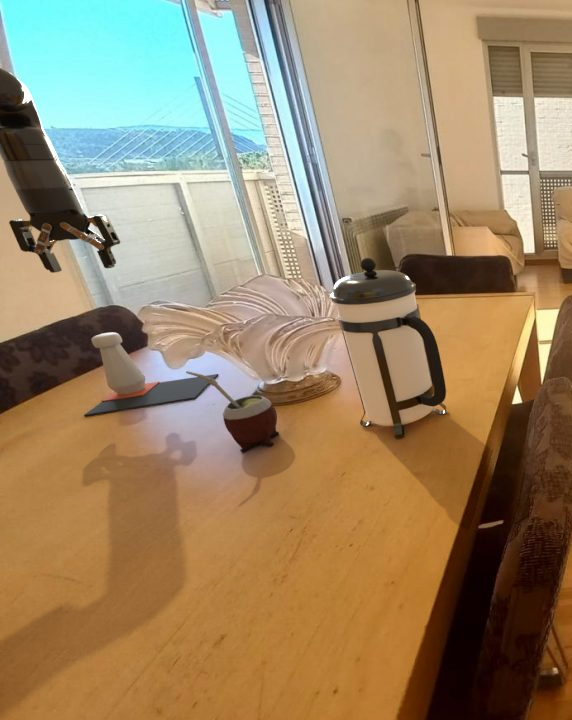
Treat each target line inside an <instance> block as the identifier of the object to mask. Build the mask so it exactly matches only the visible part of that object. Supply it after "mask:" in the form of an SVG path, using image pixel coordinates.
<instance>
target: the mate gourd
mask: <svg viewBox="0 0 572 720" xmlns="http://www.w3.org/2000/svg"><path fill="white" fill-rule="evenodd" d="M185 373H186V374H188V375H191V376H194V377H200V378H203V379H205V380H207V381H209V383H210V385H211V386H212V387H214V388H216V390H217V391H218V392H219V393H220V394H221V395H223V396H224V397H225V399H226V400H228V401H229V403H227V405H226V406H225V408H224V410H223V412H222V417H223V423H224V426H225V428H226V430H227V431H228V433H229V434H230V435H231V437H232V439H233V440H234V442H236V444H237V445H238V446H239V447H240V449H239V451H240V452H241V453H242V454H243V453H246V452H248V451H250V450H253V449H254V448H256V447H258V446H263V447H267V448H272V447H274V446H275V443H274V442H273V441H272V440H271V439H273V438H275V437H278V436H279V435H280V431H278V430H277V422H278V414H277V410H276V409H275V407H274V405H273V404H272V402H271V401H270V400H269V399H268V398H267V397H265V396H262V395H258V394H257V395H256V394H255V395H249V396H248V395H247V396H243V397H240V398H237V399H234V398H233V397H231V396H230V395H229V393H227V392H226V391H225V390H224V389H223V388H222V387H221V386H220V385H219V384H218V382H217V381H216V379H215V380H214V379H211V378H209V377H207V375H204V374H201V373H197V372H193V371H189V370H186V371H185Z"/></svg>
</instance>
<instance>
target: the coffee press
mask: <svg viewBox="0 0 572 720" xmlns="http://www.w3.org/2000/svg"><path fill="white" fill-rule="evenodd" d="M359 266H360V268H361V269H362V270H363V271H361V272H356V273H353V274H349V275H346V276H344V277H342V278H341V279H338V280H337V281H336V282H335V284H334V285H333V288H332V293H331V294H330V299H331V302H333V304H335V307H336V310H337V314H338V316H337V320H338V324H339V326H340V330H341V331H342V332H341V333H342V336H343V339H344V343H345V346H346V350H347V355H348V359H349V361H350V365H351V368H352V372H353V376H354V379H355V383H356V385H357V386H356V387H357V391H358V394H359V397H360V401H361V405H362V409H363V415H362V416H361V419H360V420H359V425H360V426H362V427H365V428H366V427H369V425H370V424H371V423H372V424H375V425H377V426H382V427H393V435H394V438H395V439H399V438H400V439H401V438H405V425H408V424H410V423H414V422H417V421H419V420H421V419H423V418H425V417H426V416H427V415H429V414H430V413H432V412H434V413H436V414H437V415H440V416H442V415H443V416H444V415H445V414H446V413H447V406H446V405H445V404H444V403H443V402H444V401H445V399H446V396H447V388H446V387H447V386H446V381H445V375H444V371H443V370H444V369H443V365H442V360H441V355H440V350H439V347H438V343H437V339H436V337H435V335H434V333H433V330H432V329H431V328H430V326H429V325H428V324H427V322H425V321H424V320H423V319H422V318H421V317H422V316H421V312H420V306H419V304H418V302H417V299H416V291H417V286H416V283H415V282H412V280H411V279H410V277H409V276H408V275H407V274H405V273H403V272H400V271H398V270H389V269H380V270H375V269H376V268H377V267H376V266H377V263H376V262H375V260H374V259H372V258H370V257H365V258H363V259H361V261H360V265H359ZM438 405H439V406H440V407H441V408H442V409H443V410H440V409H438V408H436V406H438ZM365 415H366V417H367V419H368V420H369V421H367V422H366V421H364V420H363V419H364V418H365Z"/></svg>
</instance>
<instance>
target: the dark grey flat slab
mask: <svg viewBox="0 0 572 720" xmlns="http://www.w3.org/2000/svg"><path fill="white" fill-rule="evenodd" d="M218 375H219V373H215V374H208V375H206V376H207V377H209V378H211V379H215V378H216V377H217V376H218ZM218 377H219V376H218ZM218 377H217V378H218ZM217 378H216V379H217ZM216 379H215V380H216ZM209 384H210V383H209V381H207V380H205V379H203V378H200V377H197V376H194V377H187V378H181V379H173V380H168V381H161V382H160V381H154V382H147V383H145V387H144V388H143V389H142V390H140V391H138V392H134V393H131V394H127V395H119V394H117V393H116V392H115V391H112V392H111V393H110V394H108V395H107V396H106V397H105V398H103V399H102V400H101V402H100V403H98V404H97V405H95V406H94V407H92V409H90V410H88V411H87V412H86V413H84V414H83V416H84V417H90V416H91V417H92V416H97V415H104V414H109V413H115V412H121V411H122V412H123V411H128V410H134V409H140V408H141V409H142V408H147V407H155V406H160V405H166V404H167V405H168V404H172V403H179V402H185V401H191V400H196V399H197V398H198V397H199V396H200V395H201V394H202V393H203V392H204V391H205V390H206V389H207V388H208V387H209V386H210V385H211V384H210V385H209ZM208 385H209V386H208ZM207 386H208V387H207ZM205 388H206V389H205Z"/></svg>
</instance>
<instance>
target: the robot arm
mask: <svg viewBox="0 0 572 720" xmlns="http://www.w3.org/2000/svg"><path fill="white" fill-rule="evenodd" d="M0 157H1V160H2V161H3V164H4V168H5V170H6V173H7V176H8V178H9V180H10V182H11V185H12V186H13V189H14V190H15V193H16V194H17V196H18V199H19V200H20V202H21V204H22V206H23V208H24V210H25V212H26V213H27V214H28V215H29V219H24V218H19V219H18V218H17V219H12V220H9V222H8V224H9V226H10V229H11V230H12V233H13V235H14V238H15V240H16V242H17V245H18V247H19V249H20V251H22V252H24V253H28V252H29V253H33V254H36V255H37V257H39V259H40V262H41V263H42V265H43V267H44V269H46V270H47V271H49V272H50V273H53V274H54V273H59V272H62V270H63V269H62V267H61V265H60V263H59V261H58V259H57V257H56V254H55V253H54V252H52V249H53V248H54V246H55V244H56V243H57V242H58V241H59V242H60V241H66V240H69V241H75V240H76V241H77V240H82V241H83V242H84V243H88V244H89V245H91V246H93V247H94V248H95V249H97V250H96V253H97V255H98V258H99V259H100V261H101V264H102V266H103V268H104V269H112V268H115V265H116V264H117V259H116V258H115V256H114V254H113V251H112V247H115V246H117V245H120V244H121V240H120V238H119V236H118V234H117V232H116V230H115V228H114V226H113V224H112V223H111V220H110V219H109V217H108V216H107V215H106V214H98V215H97V214H96V215H94V216H88V215H87V214H86V213H85V212H84V208H83V205H82V203H81V201H80V199H79V197H78V195H77V192H76V190H75V188H74V186H73V183H72V182H73V181H72V180H71V179H70V177H69V175H68V174H67V171H66V170H65V168H64V167H63V165H62V163H61V162H60V160H59V157H58V155H57V152H56V151H55V148H54V146H53V144H52V142H51V140H50V138H49V137H48V135H47V134H46V132H45V130H44V128H43V125H42V121H41V118H40V115H39V113H38V110H37V107H36V104H35V103H34V99H33V97H32V95H31V93H30V91H29V89H28V87H27V86H26V85H25V83H23V82H22V81H21V80H20V79H19V78H18V77H16V76H15V75H14V74H13V73H11V72H10V71H8V70H6V69H4V68H1V67H0ZM91 224H92V225H93V226H94V227H96V228H97V229H98V231H99V233H100V234H101V236H100V234H98V233H96V232H95V231H93V230H92V229H90V225H91ZM33 228H34V229H35V230H37V231H39V235H38V237H37V239H36V240H35V238H34V235H33V233H32V231H33Z"/></svg>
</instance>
